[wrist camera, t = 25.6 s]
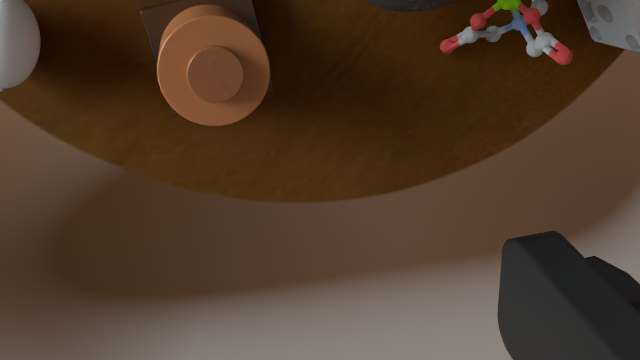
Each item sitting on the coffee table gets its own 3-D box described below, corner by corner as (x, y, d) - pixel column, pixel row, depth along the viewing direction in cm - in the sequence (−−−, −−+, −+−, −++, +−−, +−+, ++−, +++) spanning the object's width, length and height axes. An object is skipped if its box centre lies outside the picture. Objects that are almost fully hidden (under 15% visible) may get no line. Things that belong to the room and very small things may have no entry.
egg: (-45, 81, 35) (-28, 101, 32) (-44, -26, 33) (-26, -13, 30) (25, 83, 37) (46, 102, 35) (30, -16, 35) (53, -3, 33)
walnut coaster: (140, 8, 36) (139, 11, 35) (246, -16, 37) (248, -15, 36) (172, 110, 39) (172, 116, 38) (270, 85, 40) (273, 90, 39)
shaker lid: (146, 17, 35) (140, 32, 30) (245, -6, 36) (257, 4, 31) (176, 112, 38) (176, 142, 32) (268, 89, 39) (283, 114, 33)
